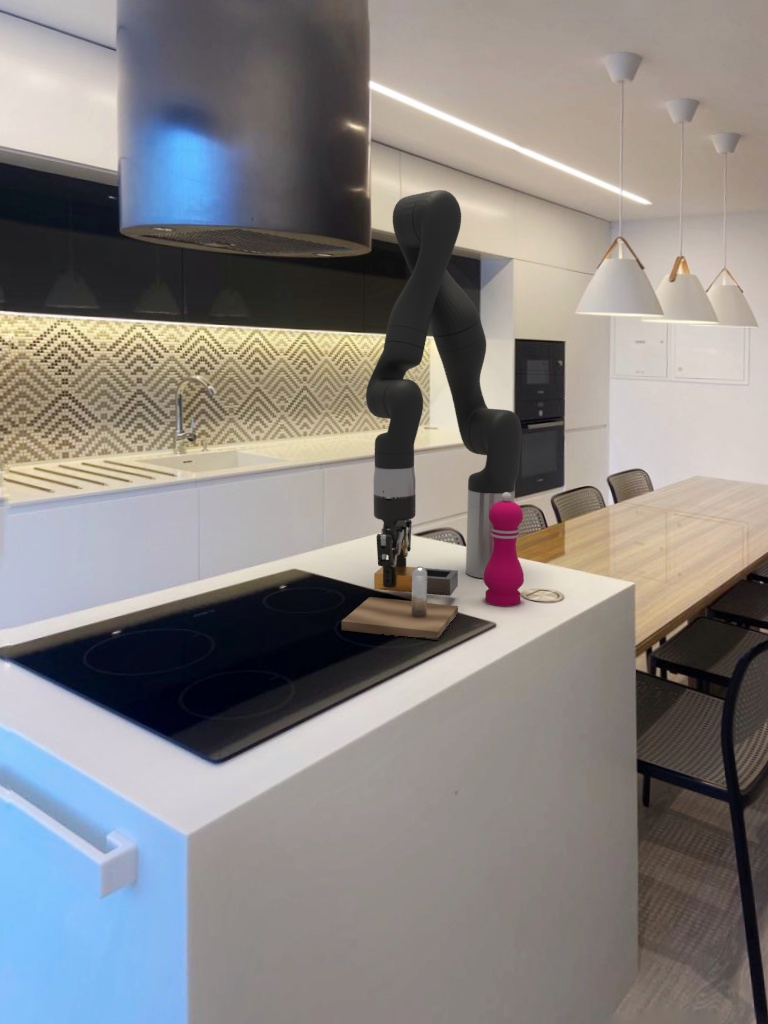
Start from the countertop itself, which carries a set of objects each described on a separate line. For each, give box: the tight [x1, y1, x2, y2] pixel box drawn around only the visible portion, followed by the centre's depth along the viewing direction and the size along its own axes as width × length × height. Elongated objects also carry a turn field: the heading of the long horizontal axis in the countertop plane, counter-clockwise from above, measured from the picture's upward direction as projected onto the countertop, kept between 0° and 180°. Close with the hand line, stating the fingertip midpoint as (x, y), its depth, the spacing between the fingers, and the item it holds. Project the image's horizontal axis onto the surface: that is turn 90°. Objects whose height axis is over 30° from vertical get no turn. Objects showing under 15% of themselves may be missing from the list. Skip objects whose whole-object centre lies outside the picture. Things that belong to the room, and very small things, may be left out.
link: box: [373, 566, 459, 597], centre depth 149 cm, size 6×14×3 cm, turn 72°
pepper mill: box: [482, 492, 525, 607], centre depth 146 cm, size 7×7×20 cm
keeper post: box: [411, 566, 428, 618], centre depth 134 cm, size 2×2×8 cm
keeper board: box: [341, 596, 459, 638], centre depth 136 cm, size 14×16×2 cm
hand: (394, 581), depth 150 cm, fingers closed on link, 6 cm apart
